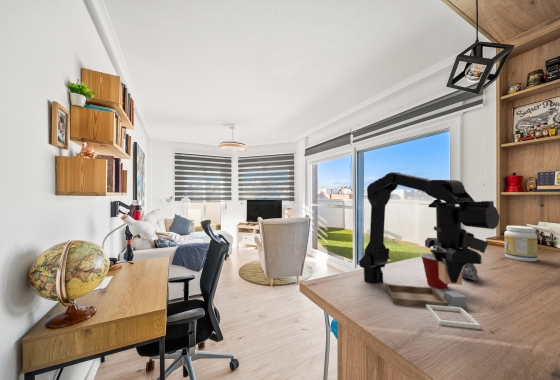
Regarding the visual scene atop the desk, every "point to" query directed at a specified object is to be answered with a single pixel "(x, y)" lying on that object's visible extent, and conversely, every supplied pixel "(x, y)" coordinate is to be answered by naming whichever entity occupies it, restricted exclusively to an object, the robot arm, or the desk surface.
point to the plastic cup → (432, 271)
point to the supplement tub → (521, 243)
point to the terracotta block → (444, 275)
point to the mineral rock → (469, 272)
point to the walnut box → (414, 295)
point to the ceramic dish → (453, 323)
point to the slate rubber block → (455, 299)
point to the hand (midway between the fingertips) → (449, 279)
